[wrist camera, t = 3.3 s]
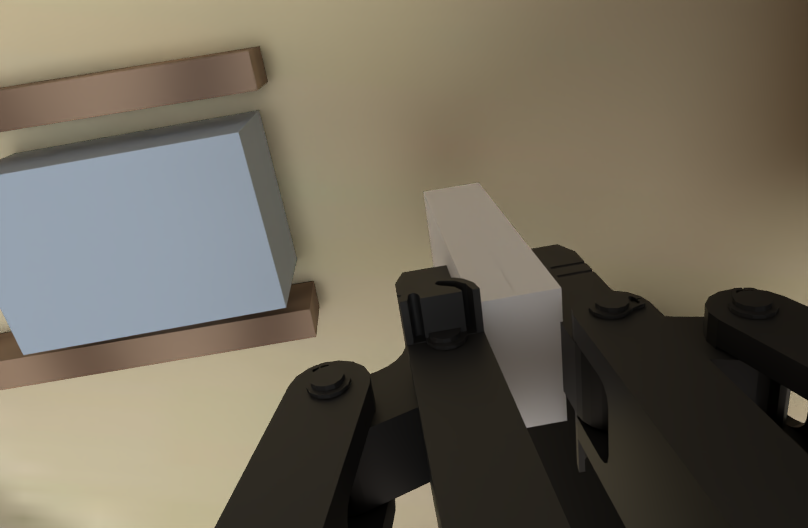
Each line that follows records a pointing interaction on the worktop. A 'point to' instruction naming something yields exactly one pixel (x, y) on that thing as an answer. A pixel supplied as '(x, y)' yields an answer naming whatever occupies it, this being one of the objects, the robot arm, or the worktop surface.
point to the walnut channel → (127, 92)
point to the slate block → (142, 233)
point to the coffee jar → (573, 476)
